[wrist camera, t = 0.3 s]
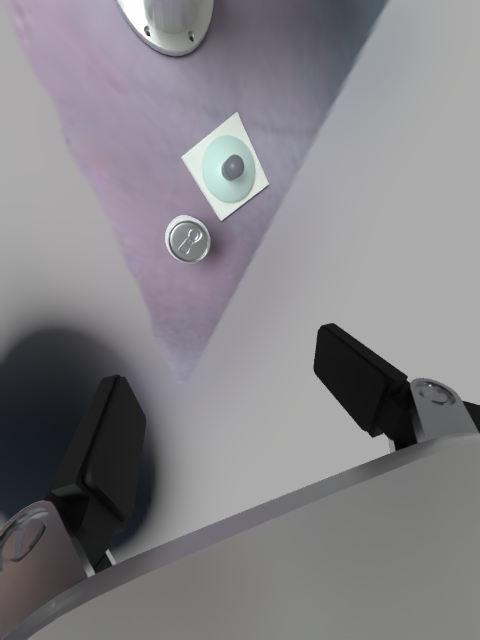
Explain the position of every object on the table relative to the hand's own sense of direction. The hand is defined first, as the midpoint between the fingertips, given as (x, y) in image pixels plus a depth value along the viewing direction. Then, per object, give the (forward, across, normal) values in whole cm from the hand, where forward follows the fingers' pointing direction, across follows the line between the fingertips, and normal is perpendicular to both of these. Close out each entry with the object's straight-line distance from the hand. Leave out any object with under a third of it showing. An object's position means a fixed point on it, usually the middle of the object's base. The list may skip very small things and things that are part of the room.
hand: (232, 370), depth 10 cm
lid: (+34, -9, -12) cm, 37 cm away
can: (+36, 0, -3) cm, 36 cm away
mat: (+35, -9, -12) cm, 38 cm away
